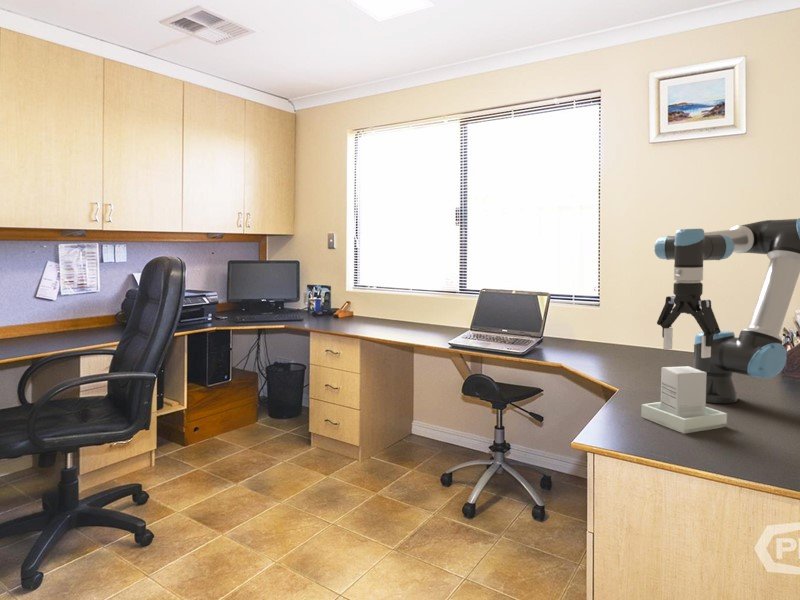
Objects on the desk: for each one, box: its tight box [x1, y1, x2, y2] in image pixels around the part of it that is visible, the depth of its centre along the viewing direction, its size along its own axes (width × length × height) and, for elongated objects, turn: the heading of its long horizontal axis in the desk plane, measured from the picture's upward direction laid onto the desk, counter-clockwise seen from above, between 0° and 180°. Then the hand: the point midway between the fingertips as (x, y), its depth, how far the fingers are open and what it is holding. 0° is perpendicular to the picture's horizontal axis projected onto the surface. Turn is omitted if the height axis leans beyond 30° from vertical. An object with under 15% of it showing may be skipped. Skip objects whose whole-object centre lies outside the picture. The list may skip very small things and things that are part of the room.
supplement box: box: [660, 365, 707, 418], centre depth 159 cm, size 9×9×15 cm
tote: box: [640, 401, 728, 434], centre depth 160 cm, size 16×16×4 cm
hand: (686, 353), depth 158 cm, fingers open, 13 cm apart
